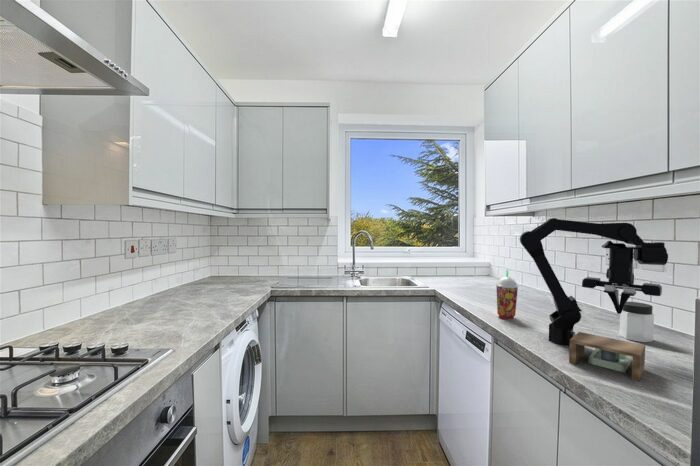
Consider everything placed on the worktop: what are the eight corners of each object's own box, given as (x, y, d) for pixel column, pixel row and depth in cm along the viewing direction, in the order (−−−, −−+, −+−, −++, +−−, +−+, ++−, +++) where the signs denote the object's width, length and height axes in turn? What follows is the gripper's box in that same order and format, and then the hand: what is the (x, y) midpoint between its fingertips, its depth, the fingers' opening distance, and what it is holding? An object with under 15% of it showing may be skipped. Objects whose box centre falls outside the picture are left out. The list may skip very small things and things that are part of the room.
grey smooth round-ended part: (599, 364, 93) (599, 348, 93) (602, 361, 95) (602, 345, 95) (614, 368, 91) (614, 351, 91) (617, 364, 93) (618, 348, 93)
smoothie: (492, 314, 147) (494, 268, 146) (513, 315, 145) (514, 269, 145) (498, 319, 138) (499, 271, 138) (520, 320, 137) (521, 272, 137)
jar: (653, 338, 118) (654, 304, 117) (652, 344, 112) (654, 308, 111) (620, 332, 124) (621, 300, 123) (618, 338, 118) (619, 303, 117)
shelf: (568, 365, 94) (569, 339, 94) (578, 355, 101) (579, 331, 101) (639, 384, 83) (640, 355, 83) (644, 372, 90) (645, 345, 90)
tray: (588, 365, 94) (588, 356, 94) (597, 354, 102) (597, 346, 102) (625, 375, 88) (625, 365, 88) (631, 362, 96) (632, 353, 96)
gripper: (664, 264, 103) (662, 315, 103) (590, 259, 116) (589, 304, 117) (661, 267, 95) (659, 322, 95) (582, 261, 108) (580, 309, 109)
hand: (619, 313), depth 104 cm, fingers closed
